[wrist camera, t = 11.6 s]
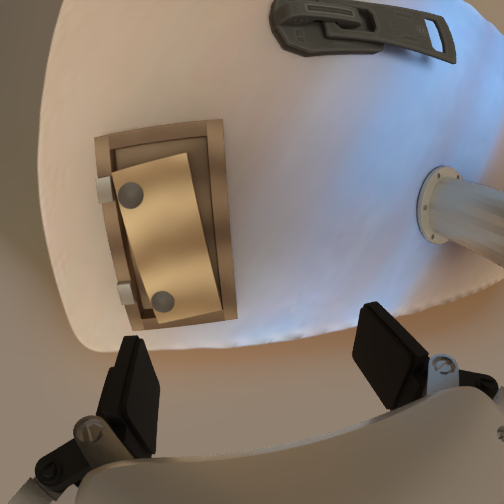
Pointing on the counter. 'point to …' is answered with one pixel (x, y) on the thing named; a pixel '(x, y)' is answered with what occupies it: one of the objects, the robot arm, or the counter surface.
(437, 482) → the robot arm
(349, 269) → the counter surface
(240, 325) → the counter surface
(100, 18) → the counter surface
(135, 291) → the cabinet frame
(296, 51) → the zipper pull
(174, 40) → the counter surface
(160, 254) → the tan rectangular block
